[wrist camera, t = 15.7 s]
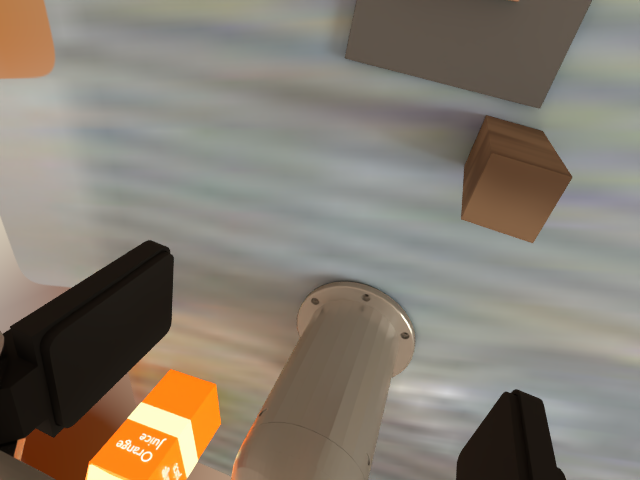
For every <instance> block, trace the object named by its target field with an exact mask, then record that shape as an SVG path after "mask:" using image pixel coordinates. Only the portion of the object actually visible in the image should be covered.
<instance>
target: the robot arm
mask: <svg viewBox="0 0 640 480" xmlns="http://www.w3.org/2000/svg"><path fill="white" fill-rule="evenodd" d="M173 266H174V257H173V255H172V254H170V250H169V248H168V247H166V246H163V245H161V244H158V243H156V242H154V241H151V240H148V241H146V242H144V243H142V244H141V245H139V246H137V247H136V248H134V249H133V250H131V251H129V252H128V253H126V254H125V255H123V256H121V257H120V258H118V259H117V260H115V261H114V262H112V263H110V264H109V265H107V266H106V267H104V268H102V269H101V270H99V271H98V272H96V273H94V274H93V275H91V276H90V277H88V278H87V279H85V280H83V281H82V282H80V283H79V284H77V285H75V286H74V287H72V288H71V289H69V290H68V291H66V292H64V293H63V294H61V295H60V296H58V297H56V298H55V299H53V300H52V301H50V302H48V303H47V304H45V305H44V306H42V307H40V308H39V309H37V310H36V311H34V312H33V313H31V314H30V315H28V316H26V317H25V318H23V319H21V320H20V321H18V322H17V323H15V324H13V325H12V326H10V328H11V329H10V330H8V331H6V332H5V333H3V334H2V333H1V331H0V480H55V479H53V478H52V477H50V476H48V475H46V474H44V473H43V472H41V471H39V470H37V469H35V468H33V467H31V466H29V465H27V464H25V463H23V462H21V461H20V460H21V456H22V452H23V447H24V443H25V438H26V436H27V435H29V434H30V433H31V432H32V431H33V430H34V429H35V428H36V429H39V430H40V431H42V432H44V433H46V434H48V435H49V436H51V437H55V436H56V435H57V434H58V433H59V432H60V431H61V430H62V429H63V428H69V427H71V426H73V425H74V424H75V423H76V422H77V421H78V420H79V419H80V418H81V417H82V416H84V415H85V413H87V412H88V411H89V410H90V409H91V408H92V406H94V405H95V404H96V403H97V402H98V401H99V400H100V399H101V398H102V397H103V396H104V395H105V394H106V393H107V392H108V391H109V390H110V389H111V388H112V387H113V386H114V385H115V384H116V383H117V382H118V381H119V380H120V379H121V378H122V377H123V376H124V375H125V374H126V373H127V372H128V371H129V370H130V369H131V368H132V367H133V366H134V365H135V364H136V363H137V362H139V361H140V360H141V359H142V358H143V357H144V356H145V355H146V354H147V353H148V352H149V351H150V350H151V349H152V348H153V347H154V346H155V345H156V344H157V343H158V342H159V341H160V340H161V339H162V338H163V337H164V336H165V335H166V334H167V332H168V331H169V329H170V326H171V321H172V293H173ZM297 329H298V333H299V337H300V339H299V341H298V343H297V345H296V347H295V348H294V350H293V352H292V354H291V356H290V358H289V359H288V361H287V363H286V365H285V367H284V368H283V370H282V372H281V374H280V376H279V378H278V379H277V381H276V383H275V385H274V387H273V389H272V390H271V392H270V394H269V396H268V398H267V400H266V401H265V403H264V405H263V407H262V409H261V410H260V412H259V414H258V416H257V418H256V420H255V421H254V423H253V425H252V427H251V429H250V431H249V432H248V434H247V436H246V438H245V440H244V442H243V444H242V445H241V447H240V449H239V452H238V454H237V456H236V459H235V462H234V466H233V471H232V477H231V480H368V478H369V474H370V470H371V465H372V461H373V456H374V452H375V448H376V443H377V439H378V435H379V430H380V426H381V421H382V417H383V413H384V408H385V404H386V400H387V395H388V391H389V387H390V382H391V378H392V377H394V376H396V375H398V374H399V373H401V372H402V371H403V370H404V369H405V368H406V367H407V366H408V364H409V363H410V361H411V360H412V356H413V353H414V348H415V342H416V341H415V331H414V328H413V325H412V322H411V321H410V319H409V317H408V315H407V314H406V312H405V311H404V310H403V309H402V308H401V306H400V305H399V304H398V303H397V302H395V301H394V300H393V299H392V298H391V297H389V296H388V295H386V294H384V293H383V292H381V291H379V290H377V289H375V288H373V287H370V286H368V285H364V284H360V283H356V282H333V283H329V284H326V285H322V286H321V287H319V288H317V289H315V290H314V291H312V292H311V293H310V294H309V295H308V296H307V298H306V299H305V300H304V302H303V303H302V305H301V307H300V309H299V312H298V316H297ZM456 480H566V478H565V475H564V473H563V472H562V471H561V469H559V468H557V466H556V461H555V456H554V451H553V446H552V442H551V437H550V432H549V427H548V423H547V418H546V413H545V408H544V404H543V401H542V400H541V399H539V398H537V397H534V396H532V395H529V394H527V393H524V392H522V391H520V390H516V389H515V390H513V391H512V392H511V393H509V392H504V393H503V394H502V395H501V397H500V398H499V399H498V401H497V402H496V404H495V405H494V406H493V408H492V409H491V411H490V412H489V413H488V415H487V416H486V418H485V419H484V420H483V422H482V423H481V424H480V426H479V427H478V429H477V430H476V431H475V433H474V434H473V436H472V437H471V438H470V440H469V441H468V443H467V444H466V445H465V447H464V448H463V449H462V451H461V453H460V455H459V457H458V461H457V474H456Z"/></svg>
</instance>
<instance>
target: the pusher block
mask: <svg viewBox="0 0 640 480" xmlns="http://www.w3.org/2000/svg"><path fill="white" fill-rule="evenodd" d="M571 179H572V176H571V174H570V172H569V171H568V169H567V168H566V166H565V165H564V163H563V162H562V160H561V159H560V157H559V155H558V154H557V152H556V151H555V149H554V148H553V146H552V145H551V143H550V142H549V140H548V138H547V137H546V135H545V134H544V132H543V131H540V130H537V129H533V128H530V127H526V126H523V125H519V124H516V123H512V122H509V121H505V120H502V119H498V118H495V117H491V116H488V115H486V117H485V119H484V122H483V124H482V126H481V129H480V131H479V133H478V136H477V138H476V140H475V143H474V145H473V147H472V149H471V152H470V154H469V156H468V159H467V161H466V163H465V166H464V180H463V196H462V213H461V219H462V220H465V221H468V222H471V223H474V224H477V225H480V226H483V227H486V228H489V229H492V230H495V231H498V232H501V233H504V234H507V235H510V236H513V237H516V238H519V239H522V240H525V241H528V242H531V243H533V242H534V241H535V239H536V237H537V236H538V234H539V232H540V231H541V229H542V227H543V226H544V224H545V222H546V221H547V219H548V217H549V216H550V214H551V212H552V211H553V209H554V207H555V206H556V204H557V202H558V201H559V199H560V197H561V196H562V194H563V192H564V191H565V189H566V187H567V186H568V184H569V182H570V181H571Z"/></svg>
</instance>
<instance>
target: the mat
mask: <svg viewBox="0 0 640 480" xmlns="http://www.w3.org/2000/svg"><path fill="white" fill-rule="evenodd" d="M591 2H592V0H519V2H517V3H515V2H511V1H506V0H357V1H356V6H355V11H354V16H353V20H352V25H351V30H350V35H349V40H348V45H347V50H346V54H345V58H346V59H350V60H354V61H358V62H362V63H365V64H369V65H373V66H377V67H381V68H385V69H389V70H393V71H396V72H400V73H404V74H408V75H412V76H416V77H420V78H423V79H427V80H431V81H435V82H439V83H443V84H447V85H451V86H454V87H458V88H462V89H466V90H470V91H474V92H478V93H482V94H485V95H489V96H493V97H497V98H501V99H505V100H509V101H512V102H516V103H520V104H524V105H528V106H532V107H536V108H540V107H541V105H542V103H543V101H544V99H545V97H546V95H547V93H548V91H549V89H550V87H551V85H552V83H553V80H554V78H555V76H556V74H557V72H558V70H559V68H560V66H561V64H562V62H563V60H564V58H565V56H566V53H567V51H568V49H569V47H570V45H571V43H572V41H573V39H574V37H575V35H576V33H577V31H578V29H579V27H580V24H581V22H582V20H583V18H584V16H585V14H586V12H587V10H588V8H589V6H590V4H591Z"/></svg>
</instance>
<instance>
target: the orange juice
mask: <svg viewBox="0 0 640 480" xmlns="http://www.w3.org/2000/svg"><path fill="white" fill-rule="evenodd" d="M220 424H221V421H220V413H219V405H218V397H217V390H216V384H213V383H210V382H207V381H204V380H201V379H198V378H195V377H192V376H189V375H186V374H183V373H180V372H177V371H174V370H171V369H170V371H169V372H168V373H167V374H166V375H165V376H164V377H163V379H162V380H161V381H160V382H159V383H158V384H157V385H156V387H155V388H154V389H153V390H152V391H151V392H150V393H149V395H148V396H147V397H146V398H145V399H144V400H143V402H141V403H140V404H139V405H138V407H137V408H136V409H135V410H134V411H133V412H132V414H131V415H130V416H129V417H128V419H127V420H126V421H125V422H124V423H123V424H122V426H121V427H120V428H119V429H118V430H117V431H116V433H115V434H114V435H113V436H112V437H111V438H110V439H109V441H108V442H107V443H106V444H105V445H104V446H103V447H102V449H101V450H100V451H99V452H98V453H97V454H96V455H95V457H94V458H93V459H92V460H91V461H90V462H89V466H88V470H87V475H86V479H85V480H186V478H187V477H188V476H189V474H190V473H191V471H192V469H193V468H194V466H195V465H196V463H197V462H198V459H199V458H200V456H201V454H202V453H203V451H204V450H205V448H206V447H207V445H208V443H209V442H210V440H211V439H212V437H213V435H214V434H215V432H216V431H217V429H218V427H219V426H220Z"/></svg>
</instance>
